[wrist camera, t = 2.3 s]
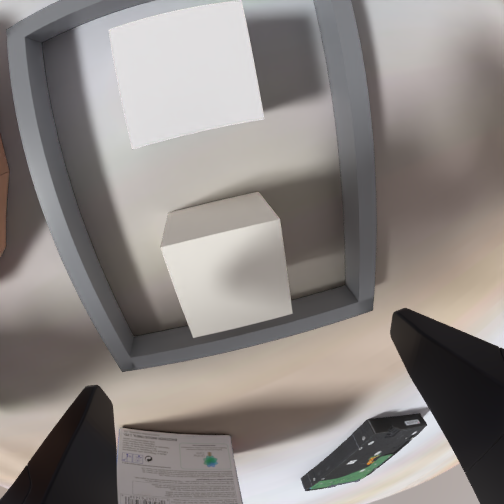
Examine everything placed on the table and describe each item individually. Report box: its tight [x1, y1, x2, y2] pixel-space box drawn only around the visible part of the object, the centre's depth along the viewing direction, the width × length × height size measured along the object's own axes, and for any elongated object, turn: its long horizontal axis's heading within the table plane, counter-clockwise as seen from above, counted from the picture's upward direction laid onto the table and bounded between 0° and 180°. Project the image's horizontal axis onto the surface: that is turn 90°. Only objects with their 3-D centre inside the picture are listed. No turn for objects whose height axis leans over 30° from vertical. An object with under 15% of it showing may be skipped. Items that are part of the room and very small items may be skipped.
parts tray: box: [6, 0, 377, 372], centre depth 13 cm, size 19×15×2 cm
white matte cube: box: [160, 192, 293, 338], centre depth 14 cm, size 4×4×4 cm
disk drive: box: [301, 413, 427, 491], centre depth 30 cm, size 10×3×15 cm
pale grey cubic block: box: [109, 0, 264, 150], centre depth 10 cm, size 4×4×4 cm
